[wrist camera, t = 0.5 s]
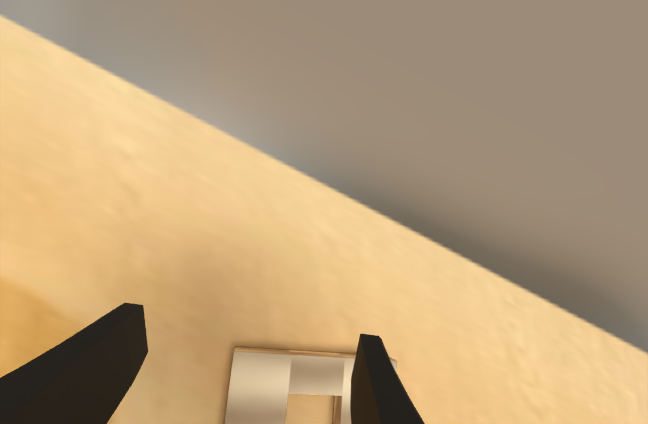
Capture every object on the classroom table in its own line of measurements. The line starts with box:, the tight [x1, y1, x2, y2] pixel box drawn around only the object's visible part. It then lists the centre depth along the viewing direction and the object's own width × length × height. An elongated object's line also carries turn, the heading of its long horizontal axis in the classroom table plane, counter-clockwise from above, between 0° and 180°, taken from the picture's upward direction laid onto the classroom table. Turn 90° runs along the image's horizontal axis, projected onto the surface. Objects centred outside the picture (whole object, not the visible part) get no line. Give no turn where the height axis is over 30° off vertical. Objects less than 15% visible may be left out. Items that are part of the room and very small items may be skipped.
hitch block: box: [224, 347, 397, 424], centre depth 35 cm, size 12×16×3 cm
